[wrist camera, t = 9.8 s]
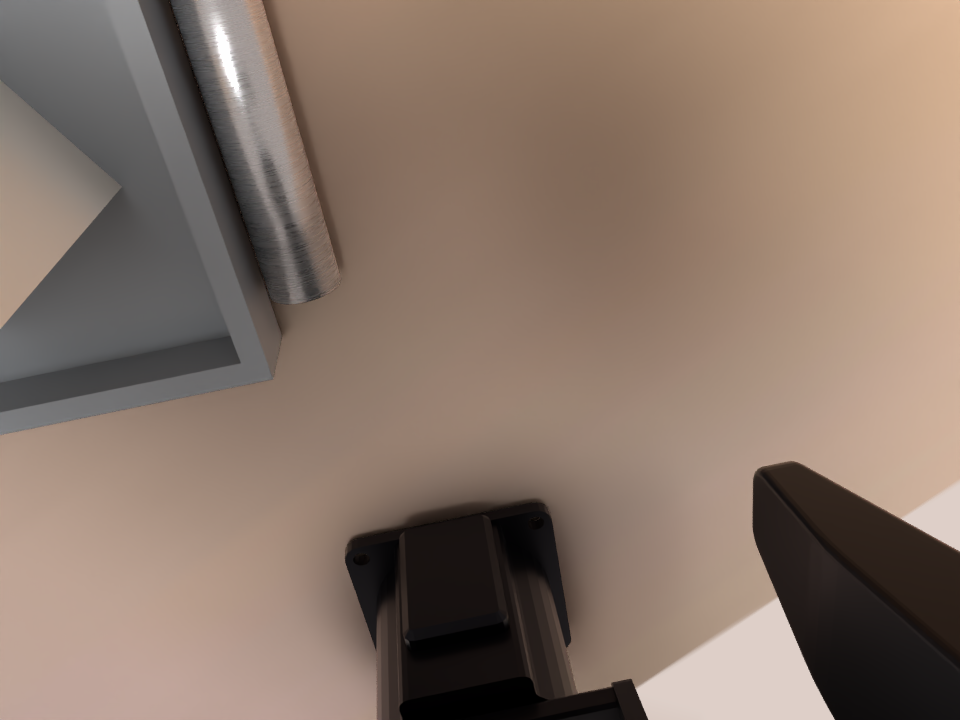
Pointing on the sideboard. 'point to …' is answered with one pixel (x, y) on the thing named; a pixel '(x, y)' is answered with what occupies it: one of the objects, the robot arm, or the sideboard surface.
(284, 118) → the cylinder
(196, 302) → the tray
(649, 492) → the sideboard surface
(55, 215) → the cream block
